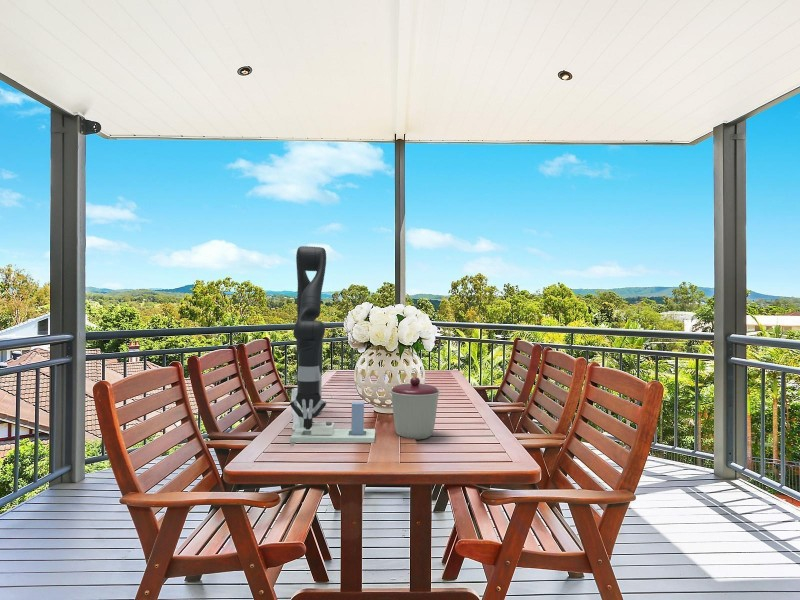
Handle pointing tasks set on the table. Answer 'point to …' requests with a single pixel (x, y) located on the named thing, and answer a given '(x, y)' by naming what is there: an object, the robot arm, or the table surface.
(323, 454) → the table surface
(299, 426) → the beer glass
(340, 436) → the board
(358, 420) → the peg
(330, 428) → the lid
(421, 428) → the canister
